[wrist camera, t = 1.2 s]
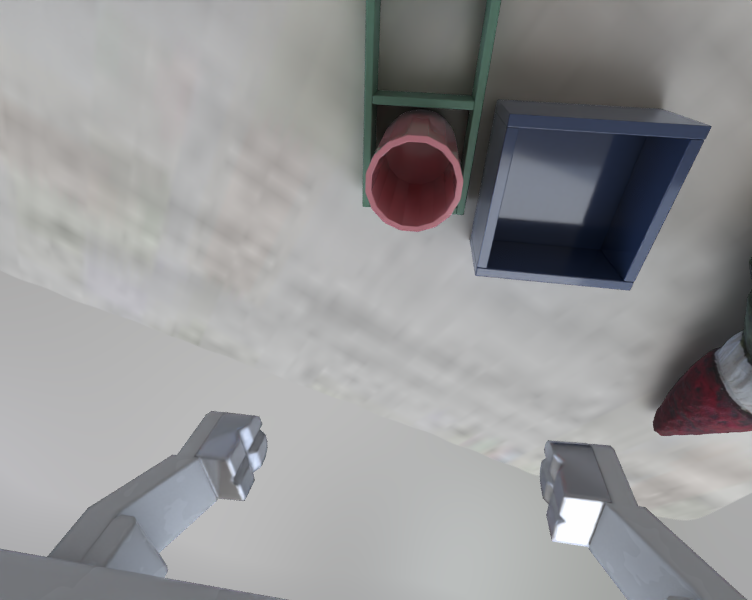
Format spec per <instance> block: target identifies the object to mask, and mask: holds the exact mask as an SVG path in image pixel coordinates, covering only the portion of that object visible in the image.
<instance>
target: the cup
mask: <svg viewBox="0 0 752 600" xmlns="http://www.w3.org/2000/svg"><path fill="white" fill-rule="evenodd" d="M463 182H464V181H463V174H462V169H461V163H460V158H459V152H458V146H457V142H456V138H455V134H454V131H453V129H452V127H451V126H450V124H449V123H448V122H447V120H446V119H445V118H443V117H442V116H441V115H439V114H438V113H436V112H434V111H431V110H426V109H415V110H410V111H407V112H405V113H403V114H401V115H400V116H398V117H397V118H396V119H395V120H394V121H393V122H392V123H391V124H390V125H389V126H388V128H387V130H386V132H385V134H384V136H383V138H382V140H381V142H380V144H379V146H378V148H377V150H376V152H375V154H374V156H373V158H372V160H371V162H370V165H369V167H368V169H367V172H366V184H365V192H366V195H367V198H368V200H369V203H370V206H371V208H372V210H373V211H374V212H375V213H376V214H377V215H378V216H379V217H380V218H381V220H382V221H383V222H385V223H386V224H388V225H391V226H393V227H395V228H397V229H399V230H403V231H415V232H419V231H423V230H426V229H430V228H433V227H436V226H438V225H439V224H440V223H442V222H443V221H444V220H446V219H447V218H448V217H450V216H451V214H452V213H453V211H454V209H455V208H456V206H457V205H458V203H459V201H460V199H461V194H462V188H463Z"/></svg>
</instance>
